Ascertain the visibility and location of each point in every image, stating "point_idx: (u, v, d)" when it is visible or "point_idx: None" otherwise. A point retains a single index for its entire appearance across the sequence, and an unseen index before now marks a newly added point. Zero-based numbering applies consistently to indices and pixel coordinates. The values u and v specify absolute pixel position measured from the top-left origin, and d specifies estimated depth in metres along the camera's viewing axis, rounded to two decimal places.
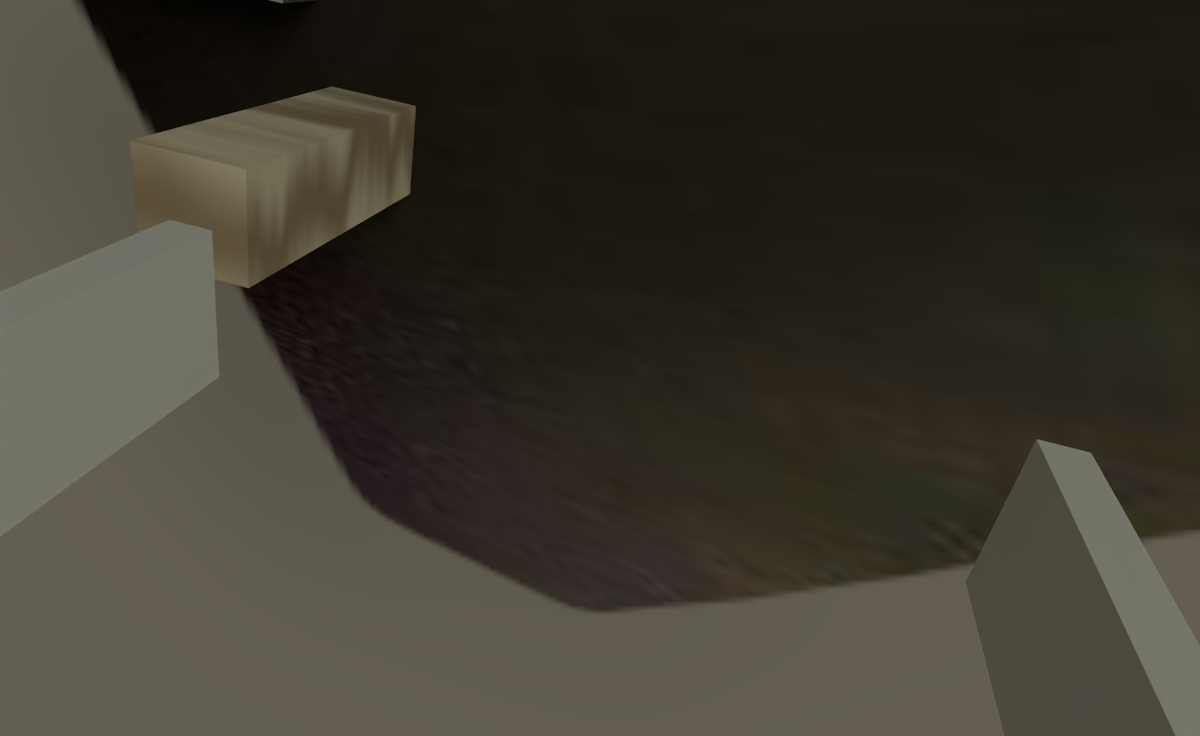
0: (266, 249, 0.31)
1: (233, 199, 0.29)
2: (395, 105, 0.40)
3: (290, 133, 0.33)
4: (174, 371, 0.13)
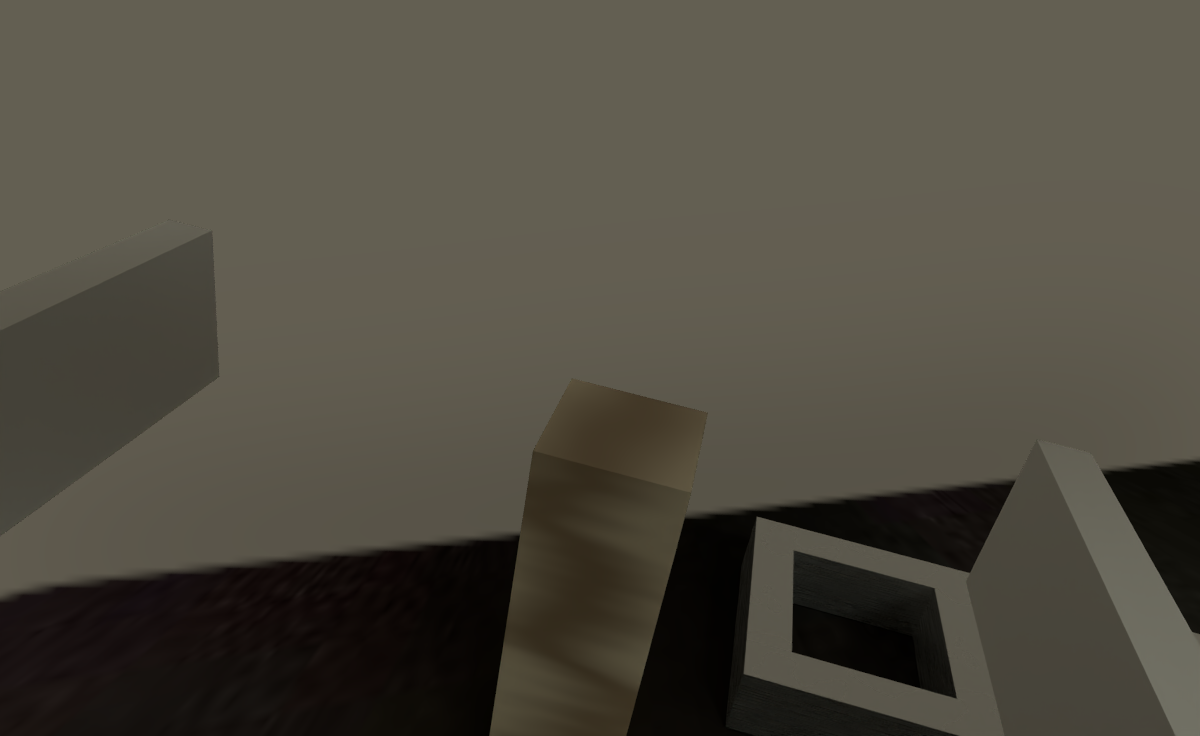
0: (566, 495, 0.23)
1: (651, 471, 0.23)
2: None
3: None
4: (174, 371, 0.13)
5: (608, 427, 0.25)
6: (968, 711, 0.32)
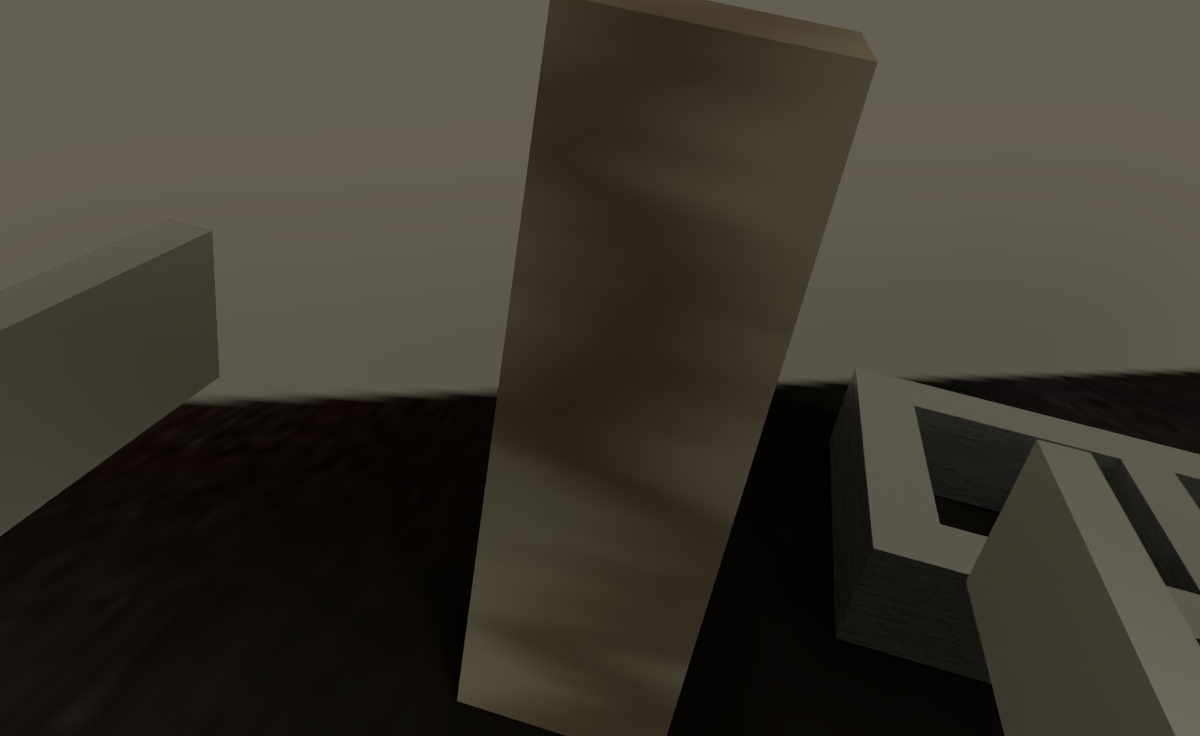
0: (615, 98, 0.12)
1: (788, 39, 0.11)
2: None
3: None
4: (174, 371, 0.13)
5: (692, 8, 0.13)
6: None
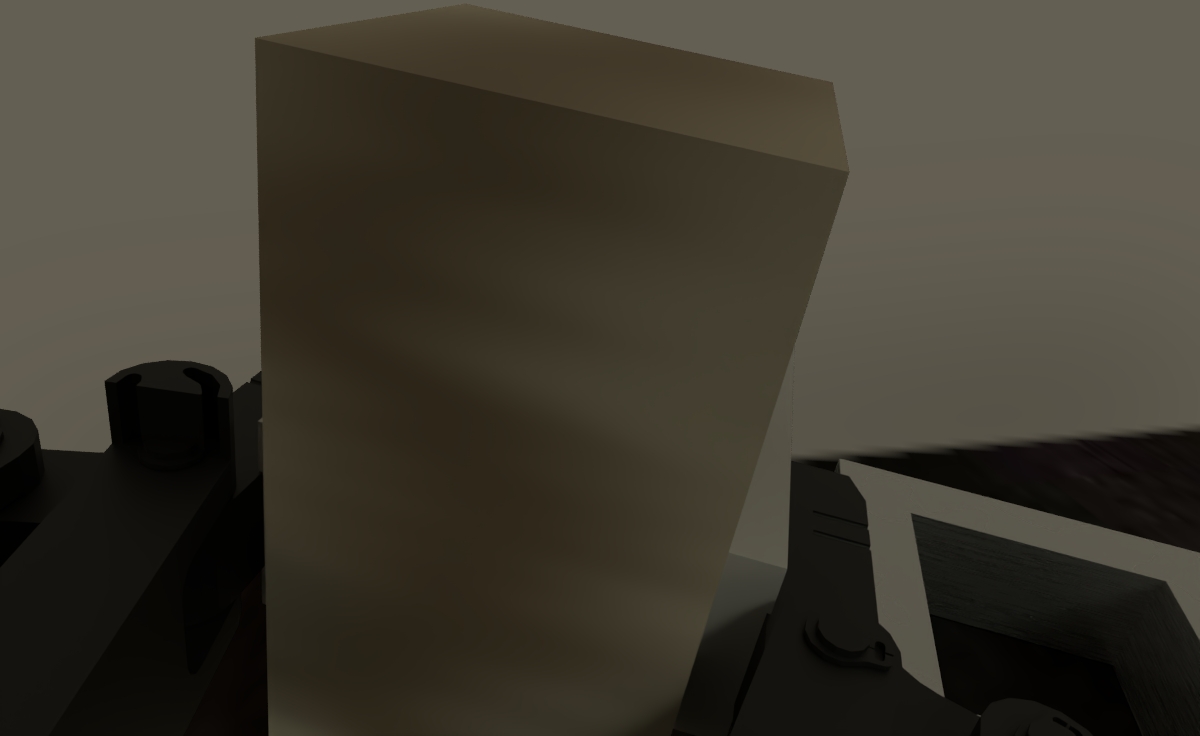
0: (387, 221, 0.07)
1: (689, 121, 0.06)
2: None
3: None
4: None
5: (549, 54, 0.08)
6: None
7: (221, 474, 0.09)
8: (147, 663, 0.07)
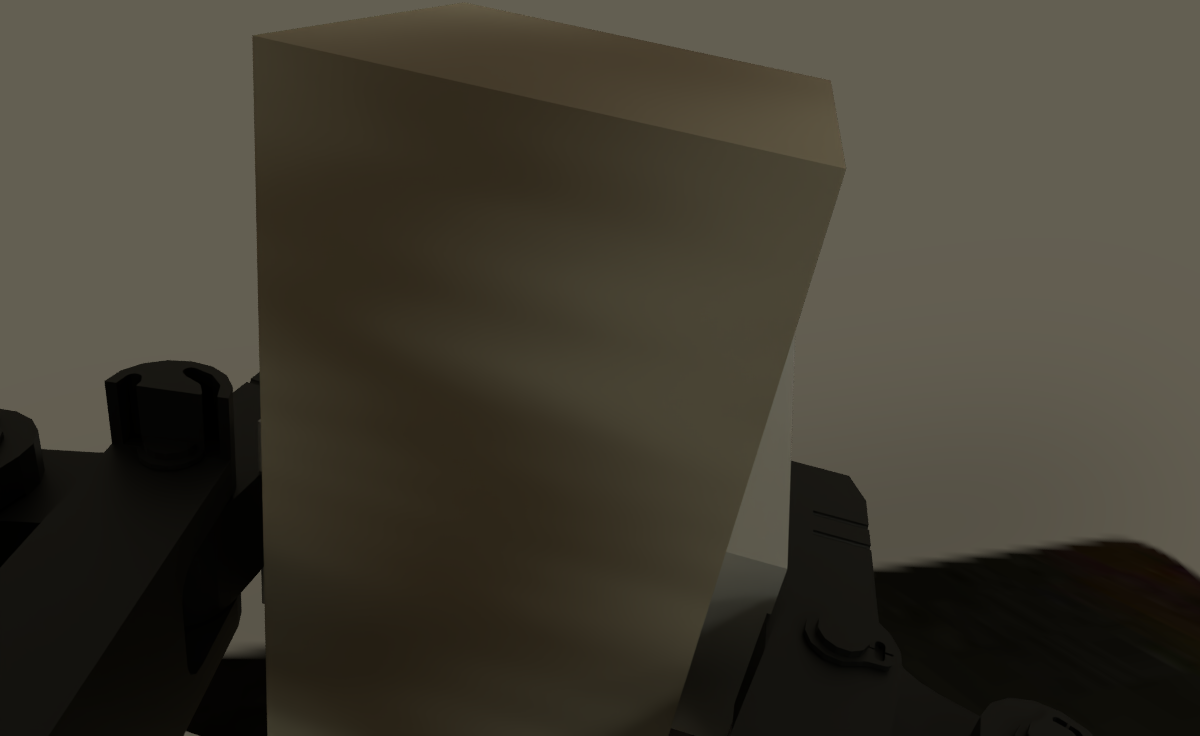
0: (384, 219, 0.07)
1: (685, 118, 0.06)
2: None
3: None
4: None
5: (547, 51, 0.08)
6: None
7: (221, 474, 0.09)
8: (147, 663, 0.07)
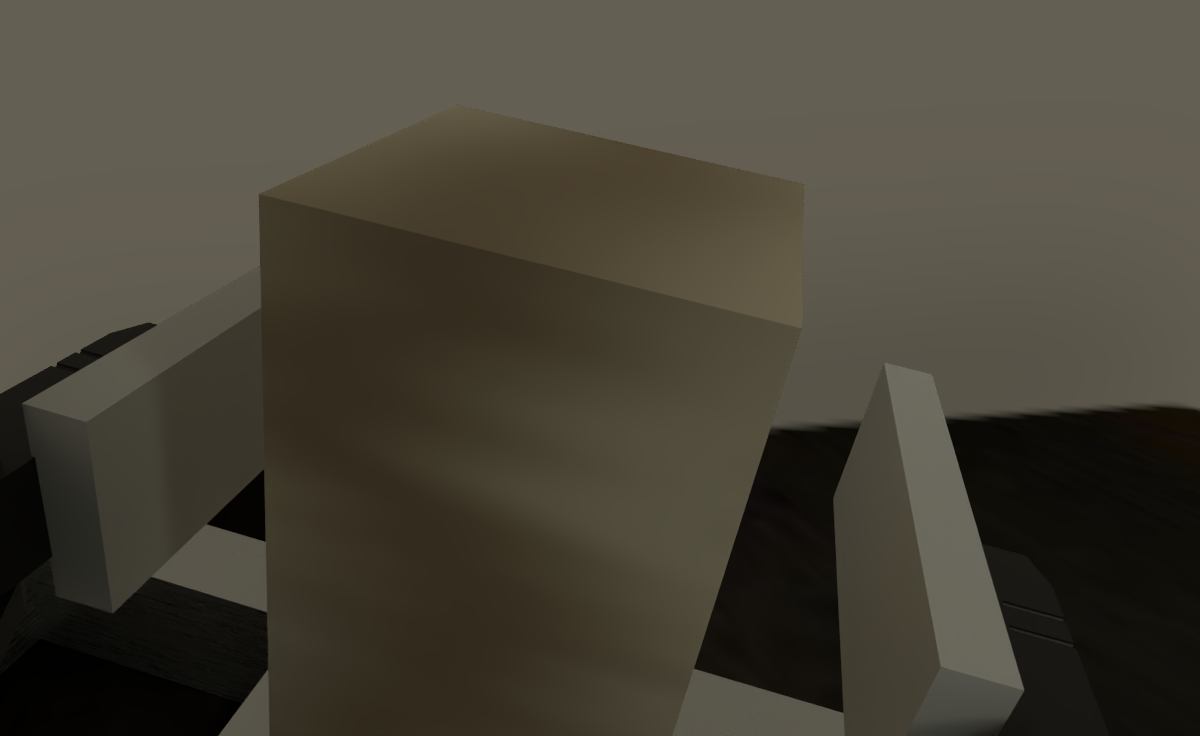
0: (381, 355, 0.07)
1: (657, 268, 0.07)
2: None
3: None
4: None
5: (533, 178, 0.08)
6: None
7: None
8: None
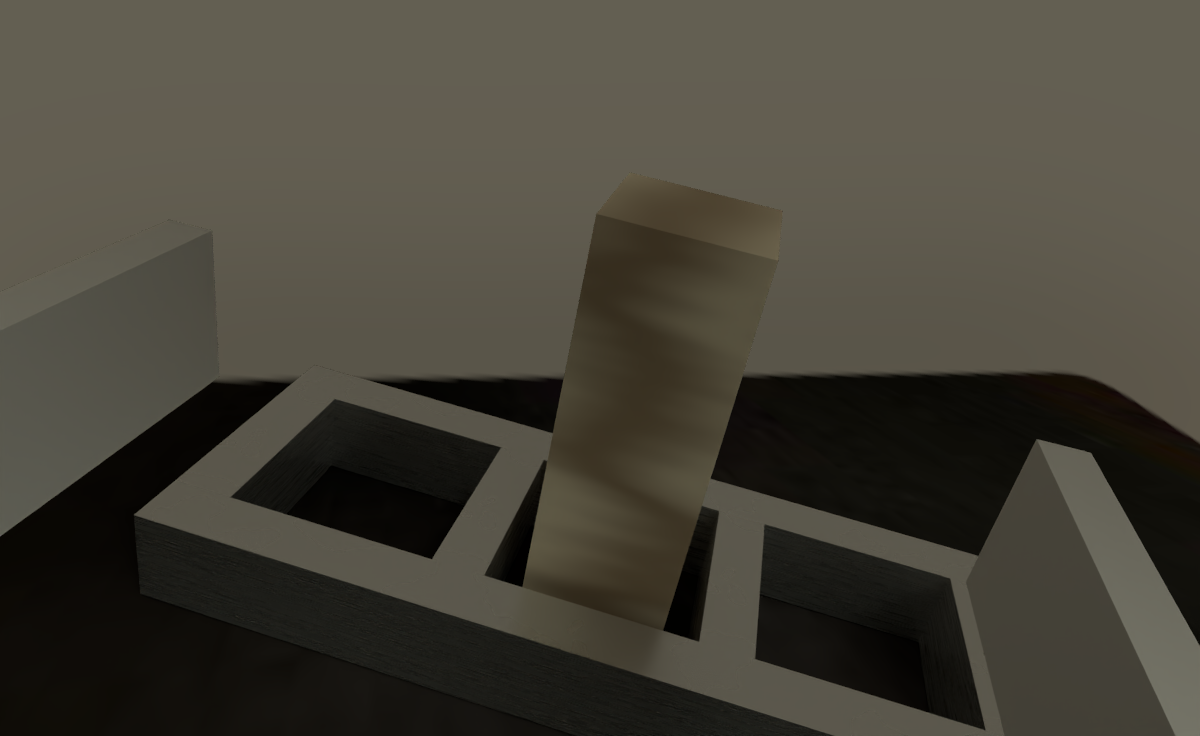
0: (631, 270, 0.21)
1: (730, 241, 0.20)
2: None
3: None
4: (174, 371, 0.13)
5: (677, 207, 0.22)
6: (436, 573, 0.24)
7: None
8: None
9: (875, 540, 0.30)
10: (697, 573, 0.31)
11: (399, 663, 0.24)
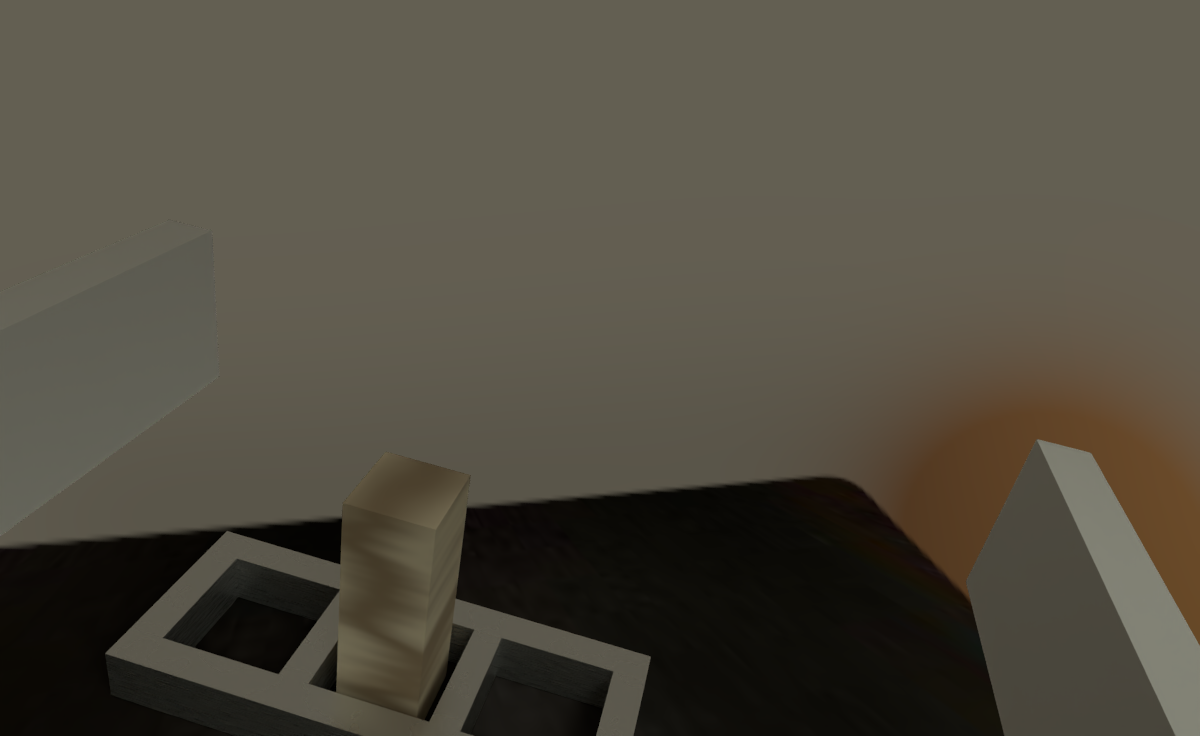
0: (364, 529, 0.38)
1: (415, 515, 0.38)
2: None
3: (438, 594, 0.41)
4: (174, 371, 0.13)
5: (398, 486, 0.39)
6: (279, 683, 0.42)
7: None
8: None
9: (574, 646, 0.47)
10: None
11: (259, 735, 0.42)
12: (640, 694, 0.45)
